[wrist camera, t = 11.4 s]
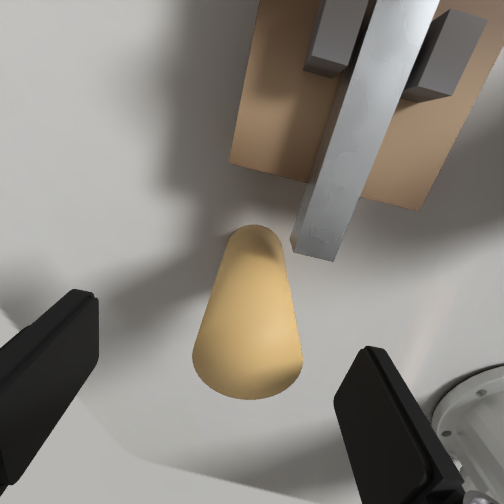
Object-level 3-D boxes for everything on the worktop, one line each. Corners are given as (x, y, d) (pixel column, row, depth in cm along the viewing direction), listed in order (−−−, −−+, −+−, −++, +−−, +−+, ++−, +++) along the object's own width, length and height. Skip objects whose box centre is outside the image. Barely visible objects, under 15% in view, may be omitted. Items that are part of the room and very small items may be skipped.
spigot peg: (273, 281, 20) (284, 408, 10) (221, 269, 19) (185, 388, 10) (289, 232, 18) (318, 330, 9) (232, 218, 18) (201, 305, 9)
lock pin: (342, 251, 13) (379, 303, 9) (271, 234, 13) (276, 280, 9) (485, -92, 8) (706, -319, 4) (376, -129, 8) (496, -408, 4)
